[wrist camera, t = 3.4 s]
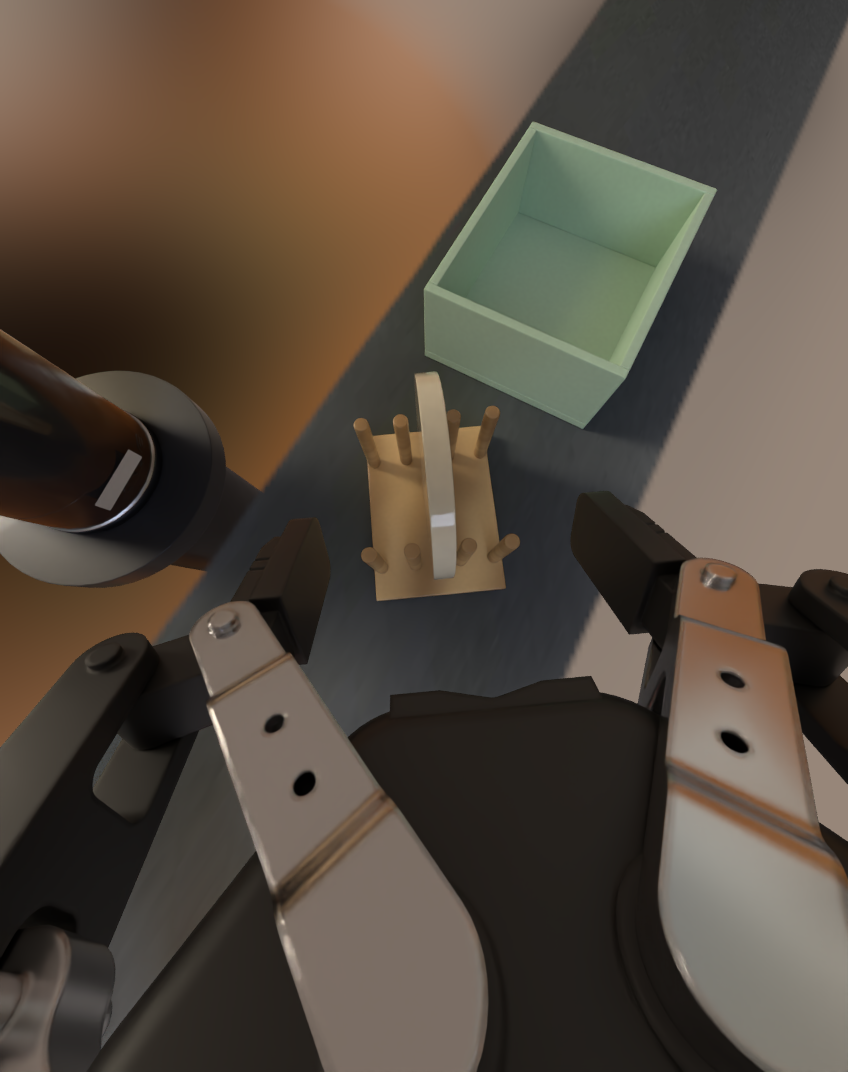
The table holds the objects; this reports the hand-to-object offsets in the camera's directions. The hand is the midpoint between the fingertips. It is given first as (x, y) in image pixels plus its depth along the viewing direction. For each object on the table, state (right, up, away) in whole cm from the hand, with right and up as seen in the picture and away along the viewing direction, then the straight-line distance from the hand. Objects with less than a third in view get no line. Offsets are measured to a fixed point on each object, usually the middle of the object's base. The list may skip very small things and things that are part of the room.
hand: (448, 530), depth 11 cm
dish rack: (0, +1, +13) cm, 13 cm away
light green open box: (+9, +17, +16) cm, 25 cm away
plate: (0, +3, +7) cm, 7 cm away
